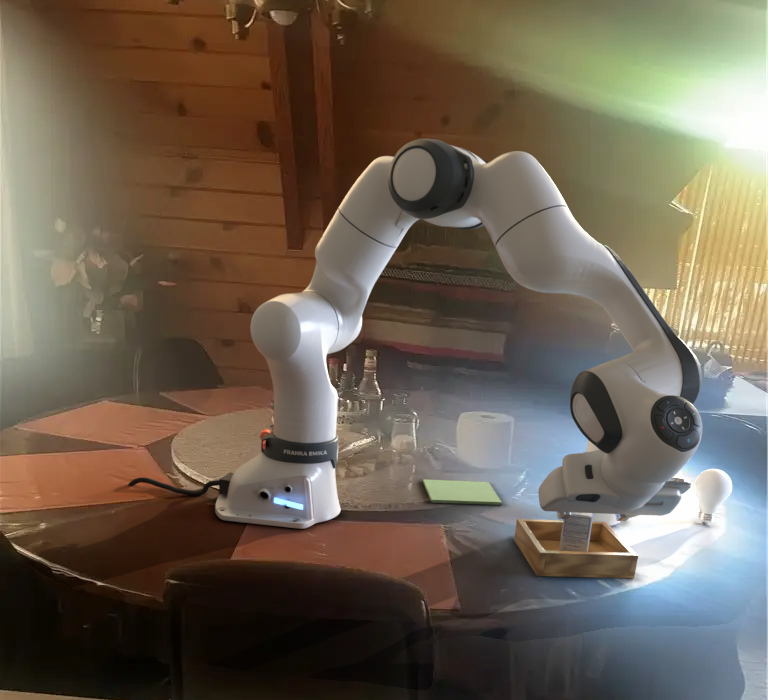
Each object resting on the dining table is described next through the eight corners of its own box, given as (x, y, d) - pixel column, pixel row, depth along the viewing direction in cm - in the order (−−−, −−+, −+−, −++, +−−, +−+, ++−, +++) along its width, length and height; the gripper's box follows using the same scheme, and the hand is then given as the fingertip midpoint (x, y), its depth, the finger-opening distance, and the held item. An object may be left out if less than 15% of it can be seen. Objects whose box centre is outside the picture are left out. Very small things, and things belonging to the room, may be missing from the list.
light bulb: (729, 525, 147) (742, 472, 143) (712, 532, 142) (725, 477, 139) (697, 514, 151) (709, 462, 148) (680, 520, 147) (691, 467, 144)
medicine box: (585, 567, 122) (593, 517, 119) (557, 562, 123) (564, 513, 120) (585, 548, 129) (593, 501, 126) (559, 544, 130) (566, 497, 127)
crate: (536, 576, 119) (540, 552, 117) (514, 539, 132) (516, 518, 131) (634, 578, 120) (638, 555, 119) (602, 542, 134) (605, 521, 132)
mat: (431, 502, 147) (431, 499, 146) (422, 481, 158) (422, 479, 158) (501, 505, 148) (502, 502, 148) (488, 484, 160) (488, 481, 159)
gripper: (692, 460, 109) (650, 499, 121) (554, 454, 106) (526, 494, 119) (700, 500, 106) (657, 536, 118) (559, 494, 104) (530, 532, 116)
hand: (590, 515), depth 118 cm, fingers open, 8 cm apart
